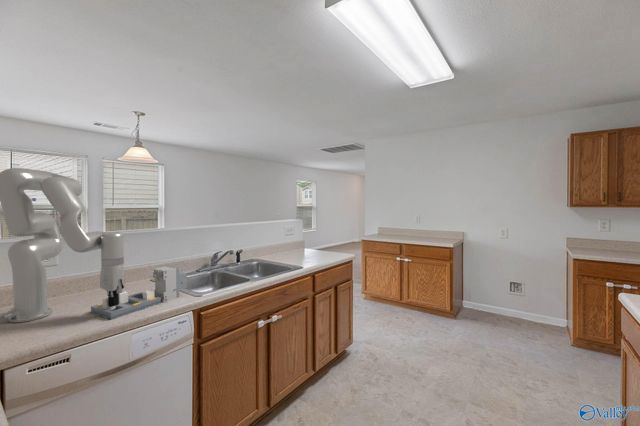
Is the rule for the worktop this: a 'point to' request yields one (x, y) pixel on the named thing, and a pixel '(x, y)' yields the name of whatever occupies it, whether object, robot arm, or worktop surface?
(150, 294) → the tab
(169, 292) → the circuit breaker
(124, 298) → the tab
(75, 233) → the robot arm
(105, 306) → the tab
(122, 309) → the switch bank
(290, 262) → the worktop surface
